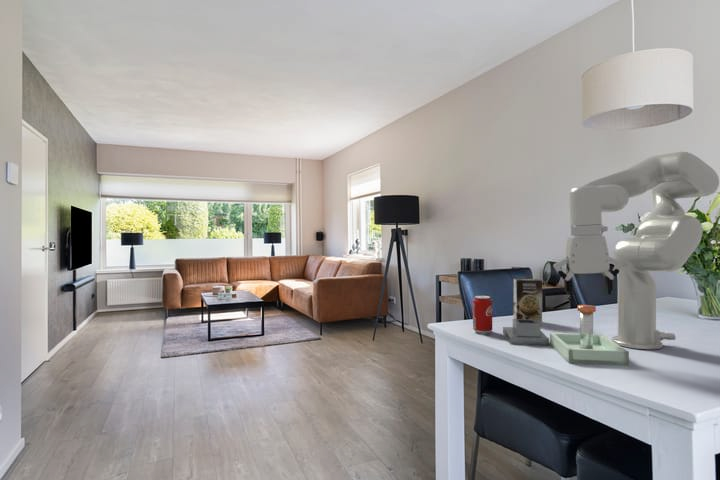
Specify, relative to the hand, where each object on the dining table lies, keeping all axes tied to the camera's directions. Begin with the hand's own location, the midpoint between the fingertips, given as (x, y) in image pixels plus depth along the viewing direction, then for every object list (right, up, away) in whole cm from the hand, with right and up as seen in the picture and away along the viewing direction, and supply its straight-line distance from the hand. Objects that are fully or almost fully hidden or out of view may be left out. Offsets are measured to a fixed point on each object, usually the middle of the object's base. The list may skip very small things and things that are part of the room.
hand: (588, 293), depth 115 cm
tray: (-1, -17, 0) cm, 16 cm away
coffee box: (0, -16, +41) cm, 44 cm away
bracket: (-11, -16, +17) cm, 26 cm away
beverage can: (-21, -17, +27) cm, 38 cm away
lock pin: (-1, -16, 0) cm, 15 cm away
